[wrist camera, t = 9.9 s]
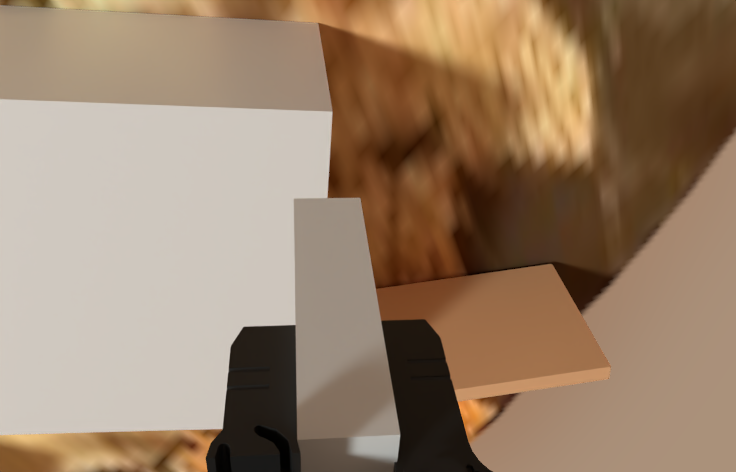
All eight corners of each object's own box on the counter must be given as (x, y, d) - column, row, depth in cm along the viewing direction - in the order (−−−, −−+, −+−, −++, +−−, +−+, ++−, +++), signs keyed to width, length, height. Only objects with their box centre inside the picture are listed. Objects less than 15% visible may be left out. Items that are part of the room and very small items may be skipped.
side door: (552, 263, 46) (611, 366, 38) (550, 288, 48) (606, 393, 39) (308, 298, 46) (314, 410, 37) (313, 322, 47) (319, 436, 39)
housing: (0, 5, 34) (-117, 94, 24) (318, 23, 36) (332, 111, 26) (64, 309, 44) (2, 458, 35) (305, 308, 47) (312, 448, 37)
